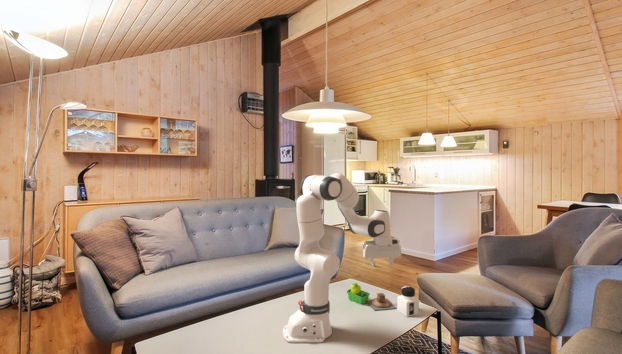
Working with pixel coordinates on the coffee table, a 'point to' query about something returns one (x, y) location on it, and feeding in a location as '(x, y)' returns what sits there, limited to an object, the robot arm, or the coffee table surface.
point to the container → (408, 302)
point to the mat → (381, 308)
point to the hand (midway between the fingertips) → (382, 265)
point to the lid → (381, 301)
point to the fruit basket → (357, 294)
